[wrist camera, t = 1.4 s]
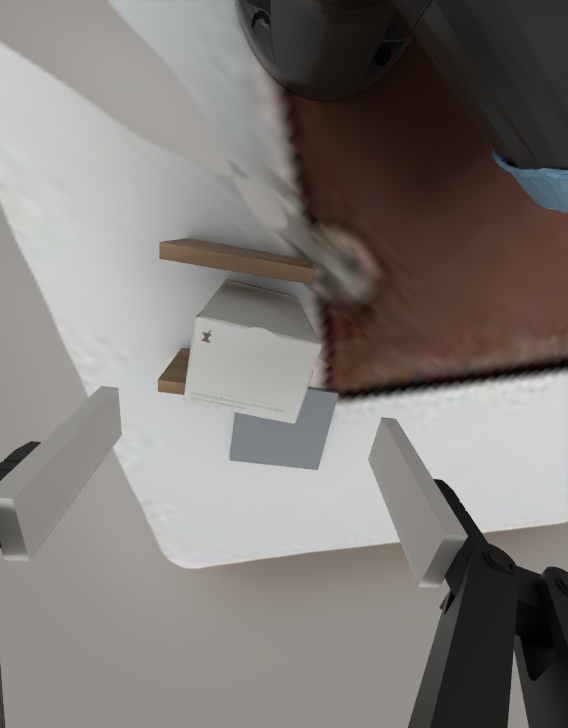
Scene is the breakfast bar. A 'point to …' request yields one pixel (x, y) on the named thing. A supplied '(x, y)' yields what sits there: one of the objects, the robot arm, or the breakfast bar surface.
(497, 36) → the robot arm
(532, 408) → the breakfast bar surface
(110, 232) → the breakfast bar surface
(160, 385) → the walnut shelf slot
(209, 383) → the skincare box
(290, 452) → the slate coaster
